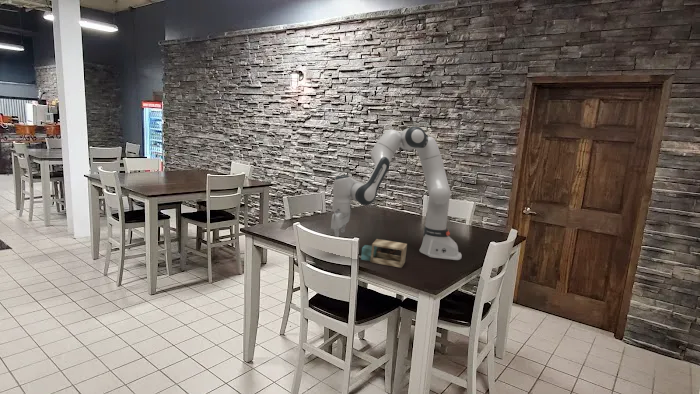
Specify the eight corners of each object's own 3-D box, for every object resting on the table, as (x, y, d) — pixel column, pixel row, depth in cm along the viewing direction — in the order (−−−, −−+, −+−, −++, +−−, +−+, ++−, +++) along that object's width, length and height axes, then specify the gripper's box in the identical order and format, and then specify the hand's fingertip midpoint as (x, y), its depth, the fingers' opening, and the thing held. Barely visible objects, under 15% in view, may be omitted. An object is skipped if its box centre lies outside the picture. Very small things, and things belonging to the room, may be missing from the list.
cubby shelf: (405, 261, 198) (407, 243, 196) (401, 267, 188) (403, 249, 187) (375, 256, 202) (376, 238, 200) (370, 262, 192) (372, 243, 191)
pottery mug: (371, 255, 205) (373, 240, 208) (381, 259, 212) (383, 245, 215) (392, 255, 198) (393, 239, 201) (401, 259, 205) (402, 244, 208)
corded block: (375, 258, 199) (376, 246, 198) (372, 261, 194) (373, 249, 193) (340, 251, 205) (341, 240, 204) (336, 254, 199) (337, 243, 198)
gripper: (340, 212, 187) (339, 240, 189) (352, 204, 206) (351, 230, 209) (328, 210, 188) (327, 238, 191) (341, 203, 208) (339, 229, 210)
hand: (339, 234), depth 200 cm, fingers open, 8 cm apart
